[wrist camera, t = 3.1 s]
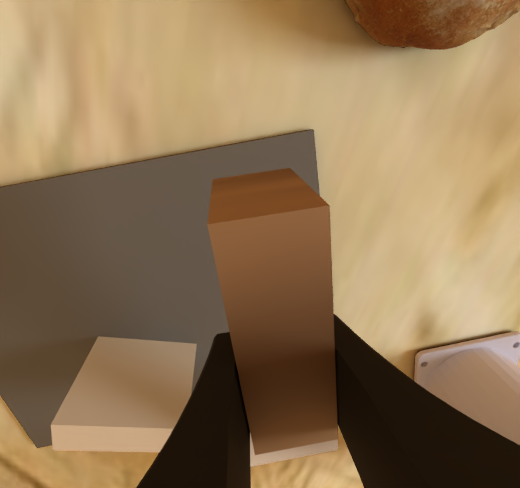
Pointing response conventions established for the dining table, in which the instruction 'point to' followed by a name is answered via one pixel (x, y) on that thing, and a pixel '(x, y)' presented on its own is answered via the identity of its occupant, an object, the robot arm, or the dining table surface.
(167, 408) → the flat beige block
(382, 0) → the bread roll
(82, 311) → the mat
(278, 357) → the tall brown post
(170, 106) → the dining table surface
